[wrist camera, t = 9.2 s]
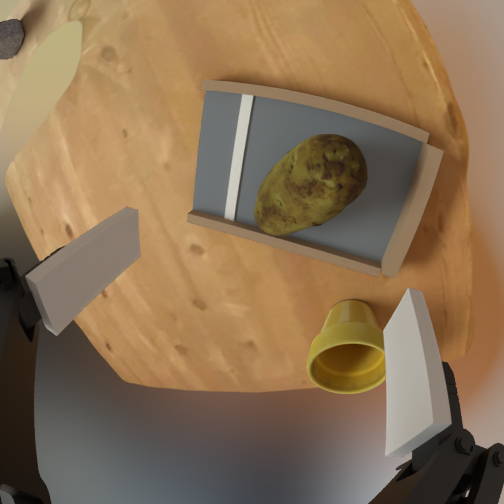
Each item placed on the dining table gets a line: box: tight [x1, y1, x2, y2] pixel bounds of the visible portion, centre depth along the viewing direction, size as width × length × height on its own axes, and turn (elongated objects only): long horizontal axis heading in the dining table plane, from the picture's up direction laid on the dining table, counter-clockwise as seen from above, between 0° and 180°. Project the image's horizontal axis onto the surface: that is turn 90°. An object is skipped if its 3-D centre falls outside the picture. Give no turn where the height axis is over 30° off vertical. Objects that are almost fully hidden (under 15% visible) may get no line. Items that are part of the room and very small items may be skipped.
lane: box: [187, 80, 444, 278], centre depth 28 cm, size 17×26×4 cm
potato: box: [254, 134, 368, 236], centre depth 26 cm, size 8×13×8 cm, turn 117°
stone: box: [0, 19, 24, 60], centre depth 25 cm, size 12×10×10 cm
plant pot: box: [307, 300, 386, 394], centre depth 33 cm, size 10×10×10 cm
